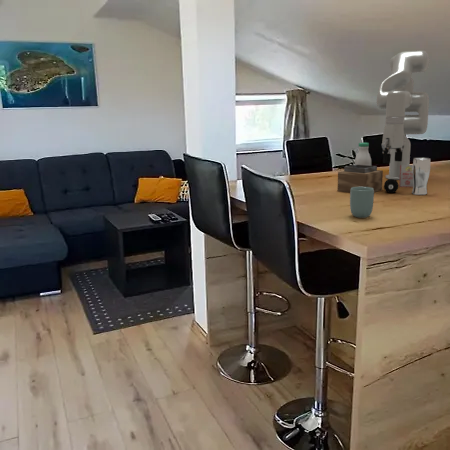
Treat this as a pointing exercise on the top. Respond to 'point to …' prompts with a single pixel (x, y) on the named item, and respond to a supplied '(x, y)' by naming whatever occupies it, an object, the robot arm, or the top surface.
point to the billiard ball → (391, 185)
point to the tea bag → (406, 176)
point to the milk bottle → (363, 155)
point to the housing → (360, 177)
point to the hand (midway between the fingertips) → (392, 162)
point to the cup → (361, 201)
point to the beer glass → (420, 175)
